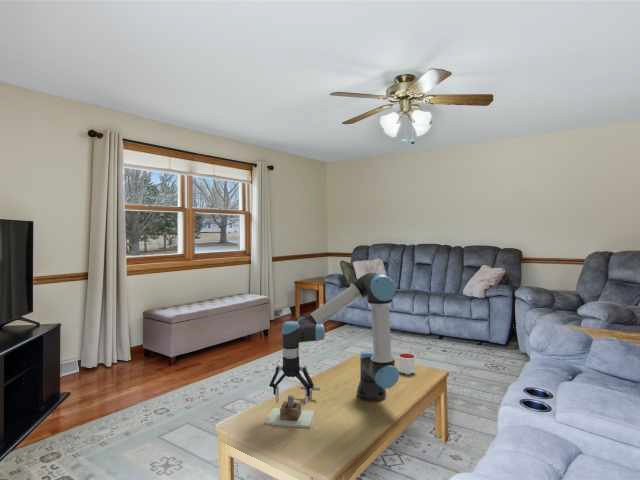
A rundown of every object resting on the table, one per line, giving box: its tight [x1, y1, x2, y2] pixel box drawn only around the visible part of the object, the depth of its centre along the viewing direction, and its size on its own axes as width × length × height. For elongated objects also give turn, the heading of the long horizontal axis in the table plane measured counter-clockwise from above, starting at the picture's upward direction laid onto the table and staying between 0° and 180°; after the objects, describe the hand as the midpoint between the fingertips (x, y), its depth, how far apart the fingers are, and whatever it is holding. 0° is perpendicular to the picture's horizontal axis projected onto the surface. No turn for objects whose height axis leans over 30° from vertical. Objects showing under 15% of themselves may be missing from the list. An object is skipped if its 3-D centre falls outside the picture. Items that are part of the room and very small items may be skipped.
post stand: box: [264, 394, 316, 429], centre depth 173 cm, size 20×14×10 cm
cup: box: [397, 352, 416, 375], centre depth 232 cm, size 10×10×10 cm
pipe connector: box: [300, 377, 321, 400], centre depth 195 cm, size 10×10×10 cm
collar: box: [279, 400, 302, 421], centre depth 173 cm, size 8×8×5 cm
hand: (291, 402), depth 173 cm, fingers open, 13 cm apart
